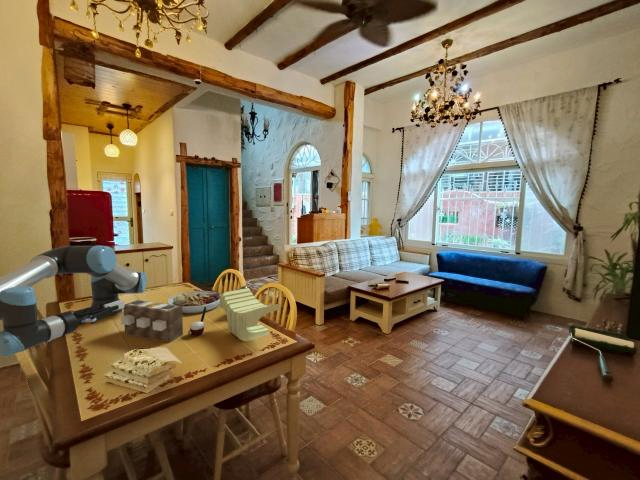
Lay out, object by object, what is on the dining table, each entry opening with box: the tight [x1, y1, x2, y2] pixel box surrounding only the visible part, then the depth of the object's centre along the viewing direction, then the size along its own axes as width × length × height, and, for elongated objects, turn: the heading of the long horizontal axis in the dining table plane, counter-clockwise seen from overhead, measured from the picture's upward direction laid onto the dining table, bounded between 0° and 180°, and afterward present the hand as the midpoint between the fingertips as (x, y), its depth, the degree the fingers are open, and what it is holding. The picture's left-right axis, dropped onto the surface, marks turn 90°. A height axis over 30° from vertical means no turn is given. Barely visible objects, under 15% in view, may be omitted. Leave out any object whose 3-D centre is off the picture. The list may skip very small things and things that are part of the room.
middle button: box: [136, 317, 150, 328], centre depth 134 cm, size 4×3×3 cm
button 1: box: [120, 314, 135, 325], centre depth 137 cm, size 4×3×3 cm
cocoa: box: [187, 307, 207, 337], centre depth 141 cm, size 10×6×12 cm, turn 125°
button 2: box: [153, 320, 167, 331], centre depth 132 cm, size 4×3×3 cm
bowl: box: [166, 290, 222, 315], centre depth 179 cm, size 30×30×8 cm
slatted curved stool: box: [219, 287, 281, 342], centre depth 143 cm, size 30×16×18 cm, turn 41°
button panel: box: [123, 299, 184, 343], centre depth 139 cm, size 26×8×15 cm, turn 74°
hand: (121, 303), depth 123 cm, fingers closed
